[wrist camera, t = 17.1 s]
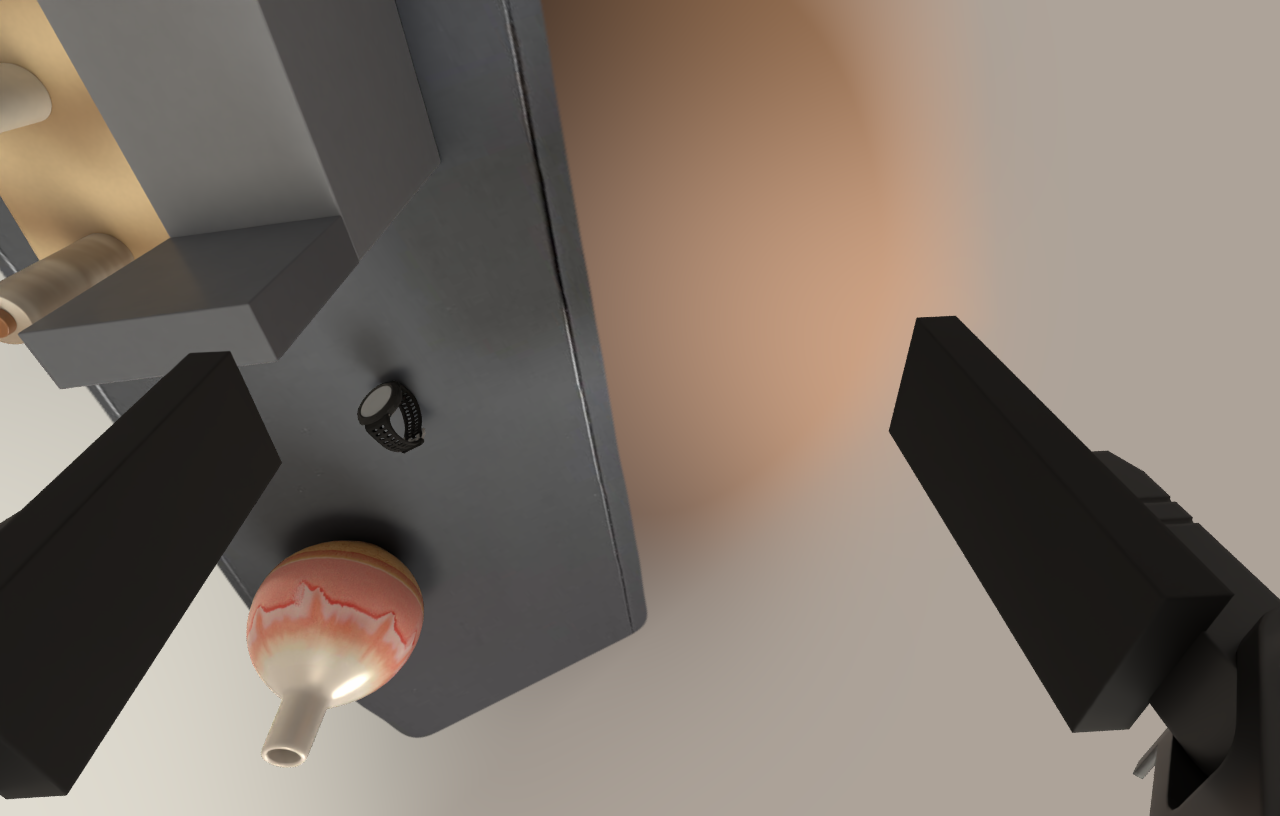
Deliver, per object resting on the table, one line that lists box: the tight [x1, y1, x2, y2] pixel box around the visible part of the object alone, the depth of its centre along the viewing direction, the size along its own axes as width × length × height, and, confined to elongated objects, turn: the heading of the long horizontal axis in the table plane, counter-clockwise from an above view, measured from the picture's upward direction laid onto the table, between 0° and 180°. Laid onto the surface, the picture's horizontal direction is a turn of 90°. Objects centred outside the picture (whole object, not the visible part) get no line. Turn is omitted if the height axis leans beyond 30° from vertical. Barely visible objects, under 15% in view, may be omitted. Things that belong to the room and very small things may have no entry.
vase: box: [247, 541, 424, 767], centre depth 52 cm, size 14×14×18 cm
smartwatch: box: [357, 381, 425, 453], centre depth 47 cm, size 4×5×5 cm
